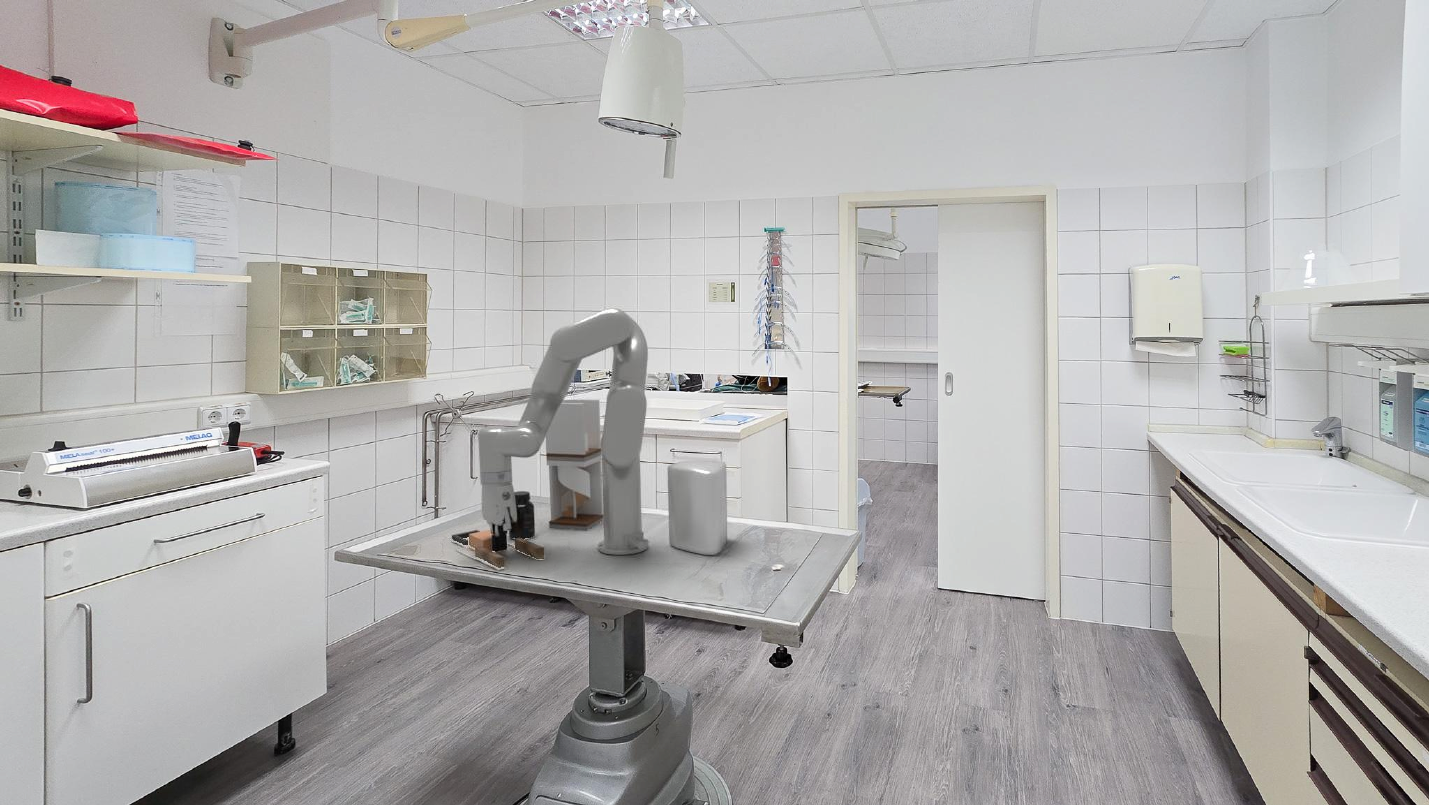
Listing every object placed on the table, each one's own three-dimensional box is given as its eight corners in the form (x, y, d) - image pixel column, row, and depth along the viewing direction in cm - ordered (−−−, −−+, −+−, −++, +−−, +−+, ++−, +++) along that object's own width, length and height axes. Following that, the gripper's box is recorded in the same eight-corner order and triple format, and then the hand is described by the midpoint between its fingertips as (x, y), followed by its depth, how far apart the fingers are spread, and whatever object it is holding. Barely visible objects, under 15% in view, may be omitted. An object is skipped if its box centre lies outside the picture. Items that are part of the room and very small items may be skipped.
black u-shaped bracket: (490, 542, 206) (490, 535, 206) (465, 548, 201) (465, 541, 201) (477, 536, 212) (476, 530, 212) (452, 541, 207) (451, 535, 207)
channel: (544, 559, 191) (544, 547, 191) (498, 571, 183) (498, 558, 183) (520, 549, 200) (519, 537, 199) (475, 559, 192) (475, 547, 191)
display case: (549, 528, 219) (544, 403, 215) (567, 518, 229) (562, 399, 225) (586, 531, 216) (582, 403, 212) (603, 521, 226) (599, 399, 222)
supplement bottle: (503, 538, 210) (501, 494, 208) (521, 532, 216) (519, 489, 214) (523, 541, 206) (521, 496, 205) (540, 535, 212) (538, 491, 211)
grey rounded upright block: (718, 556, 191) (716, 467, 188) (661, 554, 194) (659, 466, 191) (729, 539, 206) (728, 456, 203) (676, 537, 208) (674, 455, 206)
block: (506, 551, 199) (505, 535, 199) (483, 556, 195) (483, 540, 195) (491, 544, 205) (490, 529, 205) (469, 549, 201) (468, 534, 201)
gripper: (525, 479, 190) (528, 553, 192) (496, 470, 201) (500, 541, 203) (496, 484, 185) (499, 560, 187) (468, 475, 196) (472, 547, 198)
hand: (499, 550), depth 195 cm, fingers closed
